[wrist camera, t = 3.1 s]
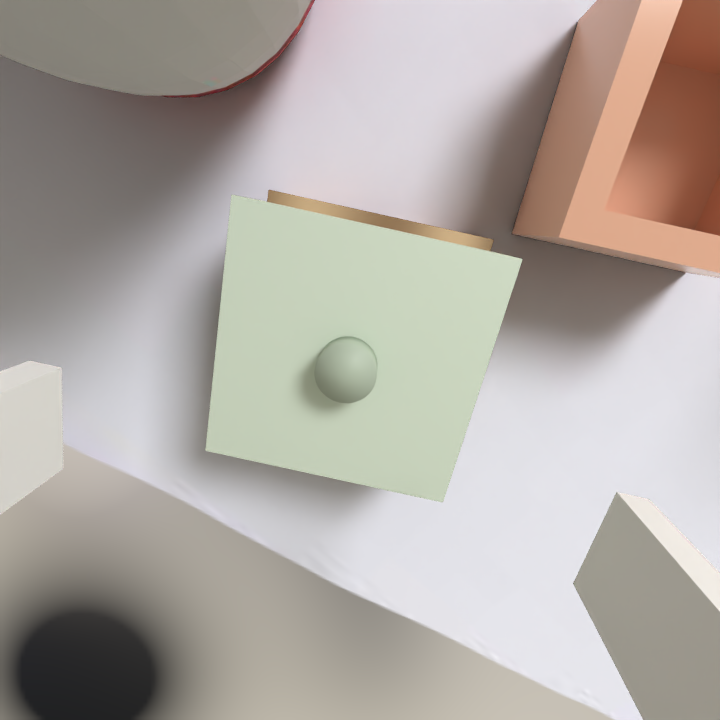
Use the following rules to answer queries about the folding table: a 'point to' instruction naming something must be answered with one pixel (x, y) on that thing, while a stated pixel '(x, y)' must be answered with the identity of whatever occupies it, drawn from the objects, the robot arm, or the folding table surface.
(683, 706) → the robot arm
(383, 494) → the folding table surface
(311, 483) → the folding table surface
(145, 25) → the citrus juicer
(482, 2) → the folding table surface
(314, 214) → the lid
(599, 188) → the open box
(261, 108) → the folding table surface
